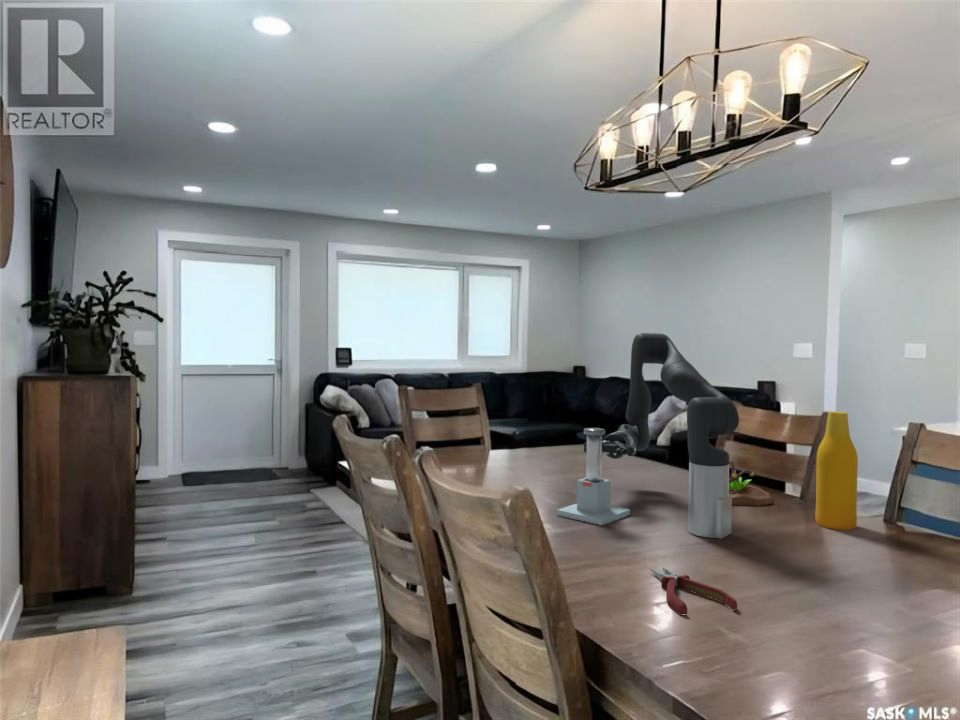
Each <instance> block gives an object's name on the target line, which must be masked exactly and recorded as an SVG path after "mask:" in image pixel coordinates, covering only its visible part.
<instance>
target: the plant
mask: <svg viewBox="0 0 960 720" xmlns="http://www.w3.org/2000/svg"><path fill="white" fill-rule="evenodd" d="M730 466H731V473H730V477H729V494H730V495H732V506H739V505H740V506H755V507H756V506H757V507H759V506H767V505H771V504H773V497H772V496H771V493H770V492H767V491H765V490H763V489H762V488H761V487H758V486H756V485H753V484H752V483H751V481H752V479H745V480H743V477H742V475H743V474H745V473H748V474H749V476H750V477H754V475H755V474H754V472H753V471H752V470H750V469H749V470H748V469H744V470H742V471H740V472H739V473H737V470H736V469H735V464H734V461H733V459H732V460H729V467H730ZM742 480H743V482H742Z"/></svg>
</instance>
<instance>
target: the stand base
mask: <svg viewBox="0 0 960 720" xmlns="http://www.w3.org/2000/svg"><path fill="white" fill-rule="evenodd" d="M611 484H612V483H611V479H607V478H602V477H601V482H598V483H594V482H589V481H586V477H584V478H581V479H580V478H579V479H577V480H576V503H574V504H571V505H568V506H564V507H561V508H558V509H556V516H559V517H562V518H567V519H571V520H576V521H579V520H580V521H579V522H583V521H585V522H584V523H588V522H589V524H592V523H593V525H596V524H598V525H597V526H601V525H603V526H605V525H607V523H608V524H610V523H612V521H613V522H615V520H616V521H619V520H621V519H623V518H625V517H628V515H629V516H630V515H631V509H629V508H625V507H619V506H615V505H611ZM620 518H621V519H620ZM604 524H605V525H604Z"/></svg>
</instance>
